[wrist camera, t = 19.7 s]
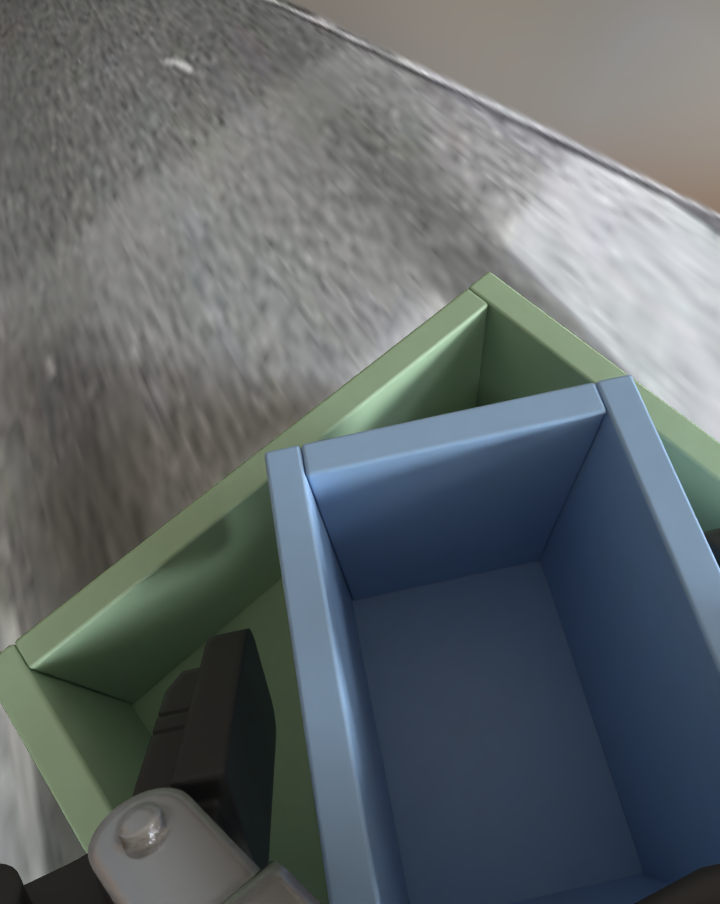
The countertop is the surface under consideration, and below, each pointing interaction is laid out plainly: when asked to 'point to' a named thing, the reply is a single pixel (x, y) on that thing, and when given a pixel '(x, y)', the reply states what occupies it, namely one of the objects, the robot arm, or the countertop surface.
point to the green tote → (275, 569)
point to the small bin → (504, 653)
